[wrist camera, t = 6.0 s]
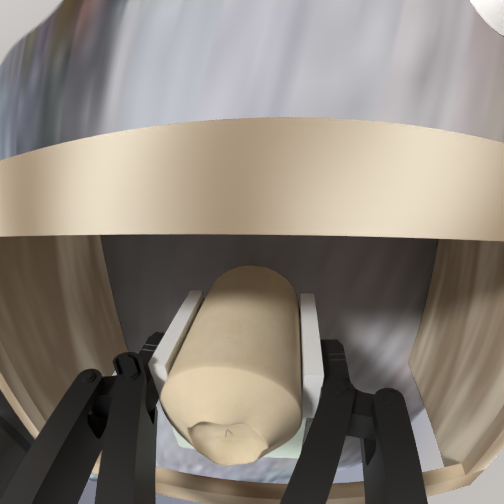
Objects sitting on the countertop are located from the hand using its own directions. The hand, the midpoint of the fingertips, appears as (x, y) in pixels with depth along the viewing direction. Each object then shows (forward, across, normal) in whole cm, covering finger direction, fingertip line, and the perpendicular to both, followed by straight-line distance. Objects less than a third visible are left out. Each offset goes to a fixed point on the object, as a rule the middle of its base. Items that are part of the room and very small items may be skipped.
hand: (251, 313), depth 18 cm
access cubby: (+4, 0, +1) cm, 4 cm away
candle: (+1, 0, 0) cm, 1 cm away
